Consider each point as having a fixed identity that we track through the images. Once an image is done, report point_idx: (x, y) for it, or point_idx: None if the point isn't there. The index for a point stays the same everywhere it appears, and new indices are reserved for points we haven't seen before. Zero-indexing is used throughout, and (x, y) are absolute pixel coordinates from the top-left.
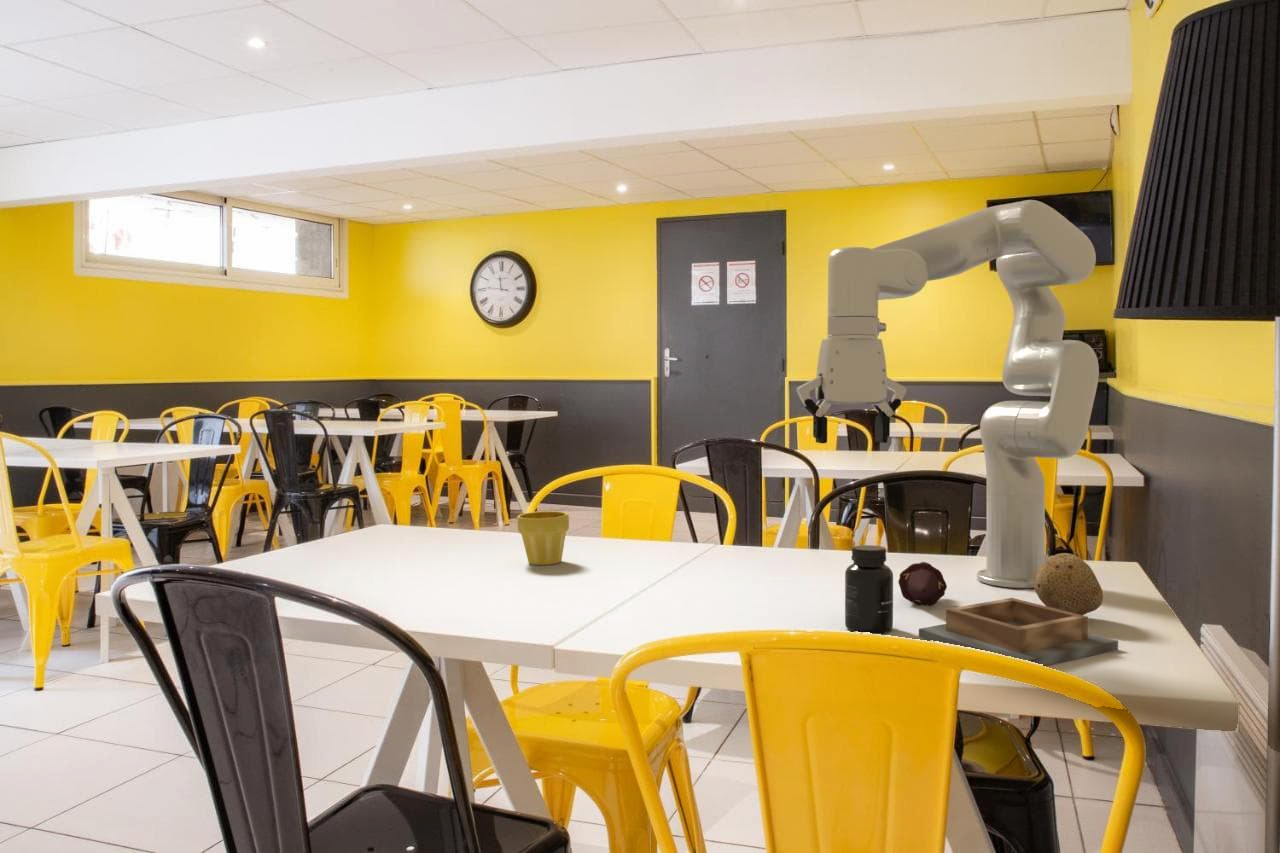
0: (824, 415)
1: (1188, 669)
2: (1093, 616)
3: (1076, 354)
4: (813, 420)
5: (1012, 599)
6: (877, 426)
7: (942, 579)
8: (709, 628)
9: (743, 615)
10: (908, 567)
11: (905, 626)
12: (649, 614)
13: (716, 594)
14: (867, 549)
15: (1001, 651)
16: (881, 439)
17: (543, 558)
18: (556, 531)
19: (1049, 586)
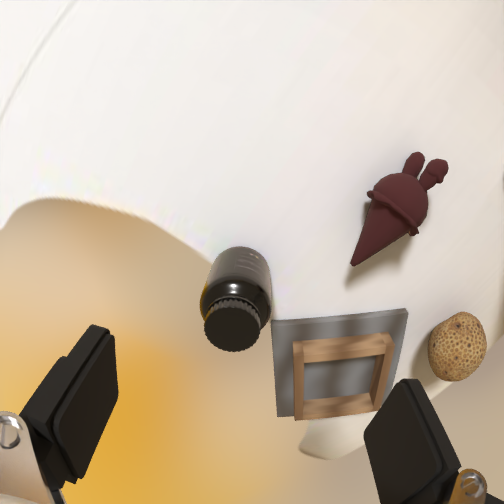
0: (66, 478)
1: None
2: None
3: None
4: (25, 410)
5: (388, 350)
6: (406, 449)
7: (414, 233)
8: (75, 187)
9: (129, 144)
10: (390, 204)
11: (288, 281)
12: (44, 103)
13: (151, 23)
14: (219, 341)
15: (284, 399)
16: (370, 432)
17: None
18: None
19: (430, 359)
